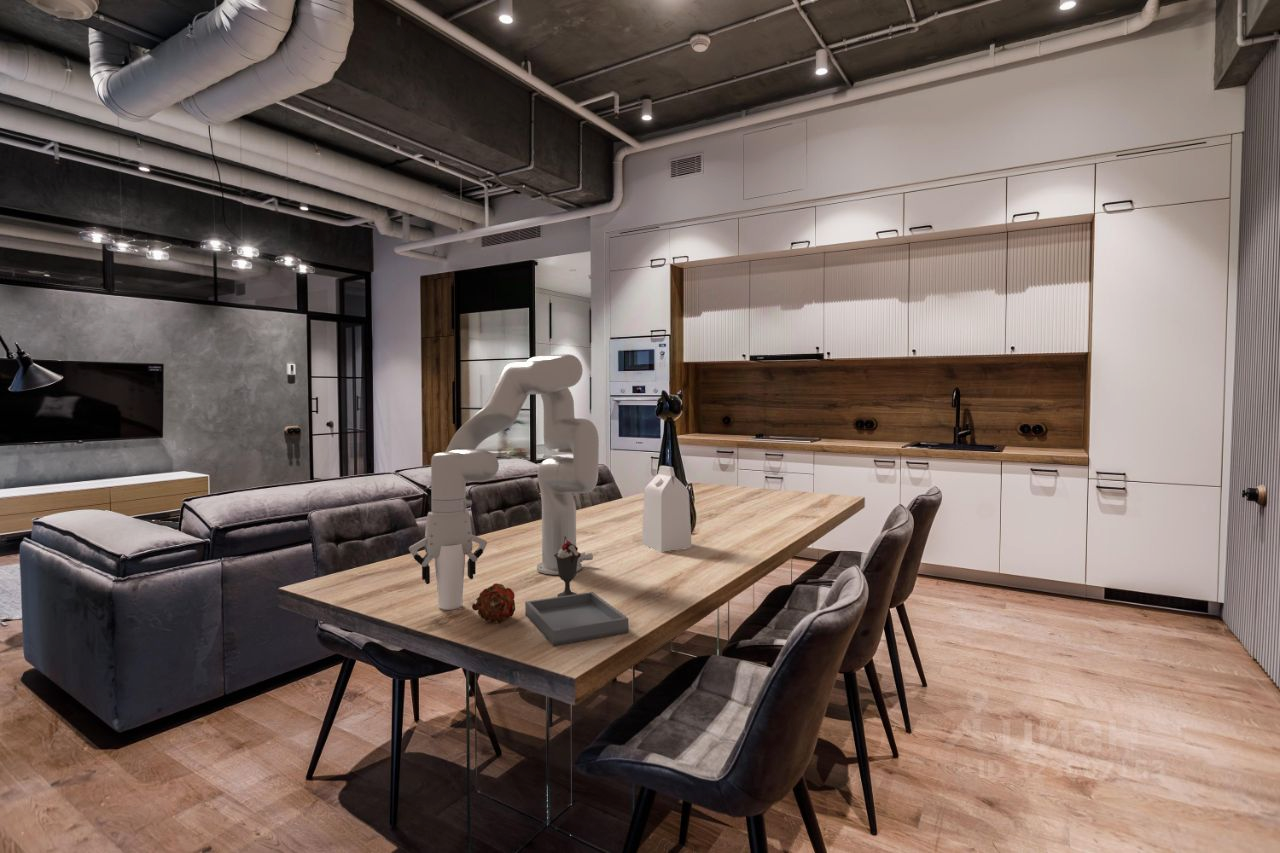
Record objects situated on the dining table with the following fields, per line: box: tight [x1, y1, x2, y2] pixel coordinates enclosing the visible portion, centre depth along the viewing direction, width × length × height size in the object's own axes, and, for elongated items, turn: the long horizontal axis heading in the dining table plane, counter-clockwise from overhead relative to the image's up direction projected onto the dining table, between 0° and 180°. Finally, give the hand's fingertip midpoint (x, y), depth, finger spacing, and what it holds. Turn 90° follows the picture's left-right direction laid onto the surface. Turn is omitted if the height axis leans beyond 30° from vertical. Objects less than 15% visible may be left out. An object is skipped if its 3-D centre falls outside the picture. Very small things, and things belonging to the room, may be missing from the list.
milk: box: [641, 465, 693, 553], centre depth 207 cm, size 12×12×26 cm
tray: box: [524, 591, 630, 647], centre depth 136 cm, size 16×20×3 cm
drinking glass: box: [433, 544, 466, 611], centre depth 147 cm, size 7×7×15 cm
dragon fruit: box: [471, 582, 516, 624], centre depth 139 cm, size 8×8×12 cm
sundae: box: [553, 537, 582, 597], centre depth 155 cm, size 7×7×15 cm
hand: (449, 580), depth 147 cm, fingers open, 9 cm apart
